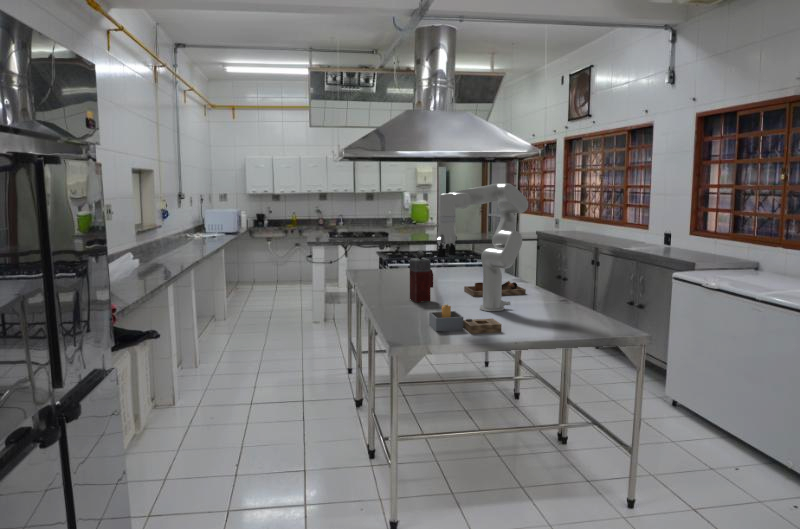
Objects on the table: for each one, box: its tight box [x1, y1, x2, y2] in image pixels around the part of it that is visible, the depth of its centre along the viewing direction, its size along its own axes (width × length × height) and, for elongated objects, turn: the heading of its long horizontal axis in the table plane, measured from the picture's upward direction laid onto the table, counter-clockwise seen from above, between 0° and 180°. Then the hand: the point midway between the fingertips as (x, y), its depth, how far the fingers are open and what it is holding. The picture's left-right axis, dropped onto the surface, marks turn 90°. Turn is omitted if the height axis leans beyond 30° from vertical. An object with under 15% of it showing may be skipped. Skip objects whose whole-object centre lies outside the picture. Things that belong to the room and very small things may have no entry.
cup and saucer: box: [473, 282, 483, 291], centre depth 334 cm, size 12×12×6 cm
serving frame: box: [463, 285, 527, 298], centre depth 336 cm, size 32×17×3 cm, turn 101°
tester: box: [463, 318, 502, 335], centre depth 250 cm, size 14×11×4 cm
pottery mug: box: [502, 280, 518, 290], centre depth 336 cm, size 12×10×8 cm
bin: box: [428, 310, 464, 332], centre depth 254 cm, size 12×12×6 cm
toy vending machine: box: [409, 250, 434, 303], centre depth 314 cm, size 9×11×28 cm
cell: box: [441, 303, 452, 318], centre depth 254 cm, size 4×4×10 cm
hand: (447, 255), depth 269 cm, fingers open, 9 cm apart
